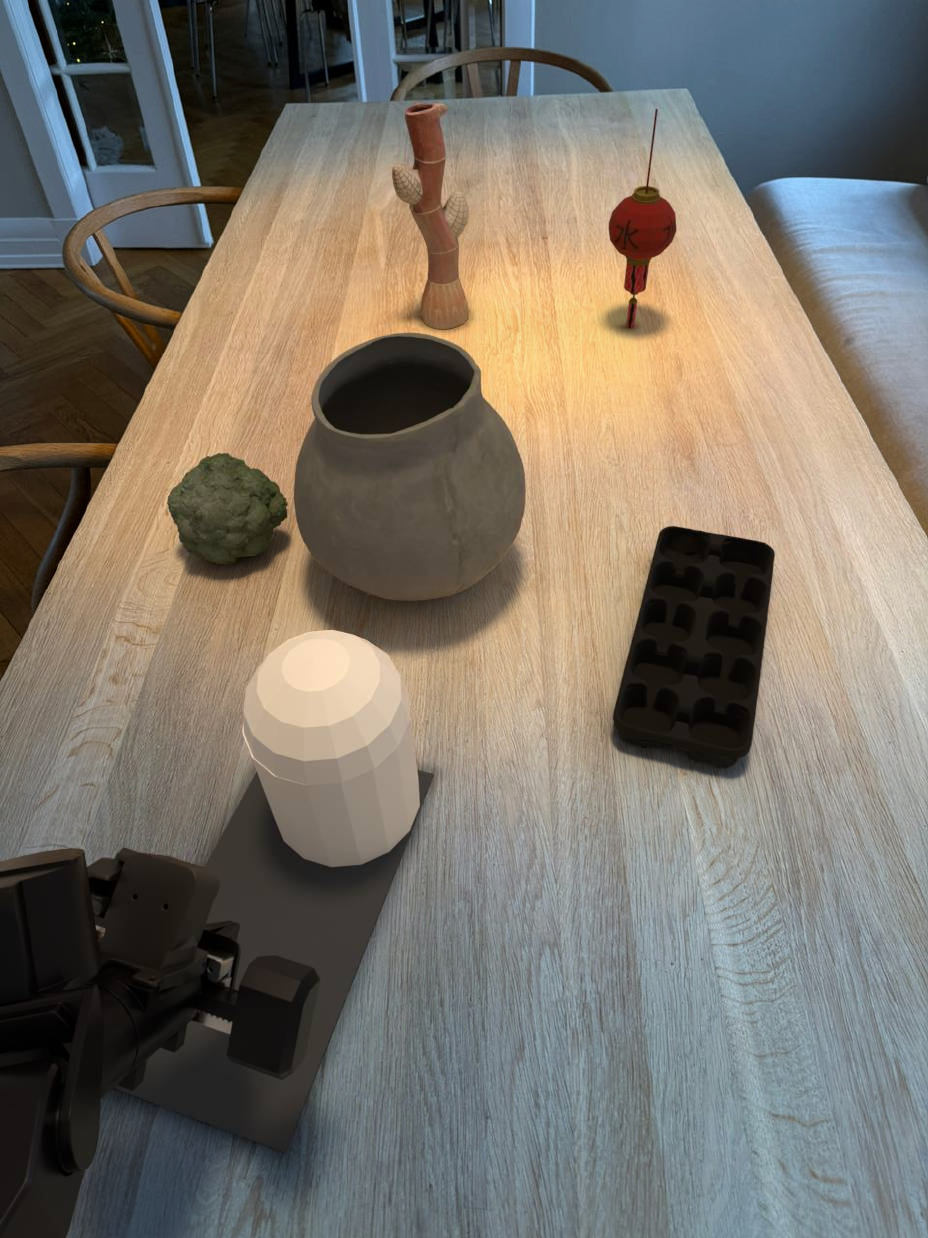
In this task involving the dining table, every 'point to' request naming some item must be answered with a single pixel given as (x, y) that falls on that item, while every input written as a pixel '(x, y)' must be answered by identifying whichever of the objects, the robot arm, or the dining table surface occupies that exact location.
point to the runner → (287, 927)
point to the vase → (434, 216)
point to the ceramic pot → (407, 471)
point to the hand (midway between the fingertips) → (234, 928)
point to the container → (333, 747)
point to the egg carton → (698, 647)
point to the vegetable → (226, 509)
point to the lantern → (641, 234)
